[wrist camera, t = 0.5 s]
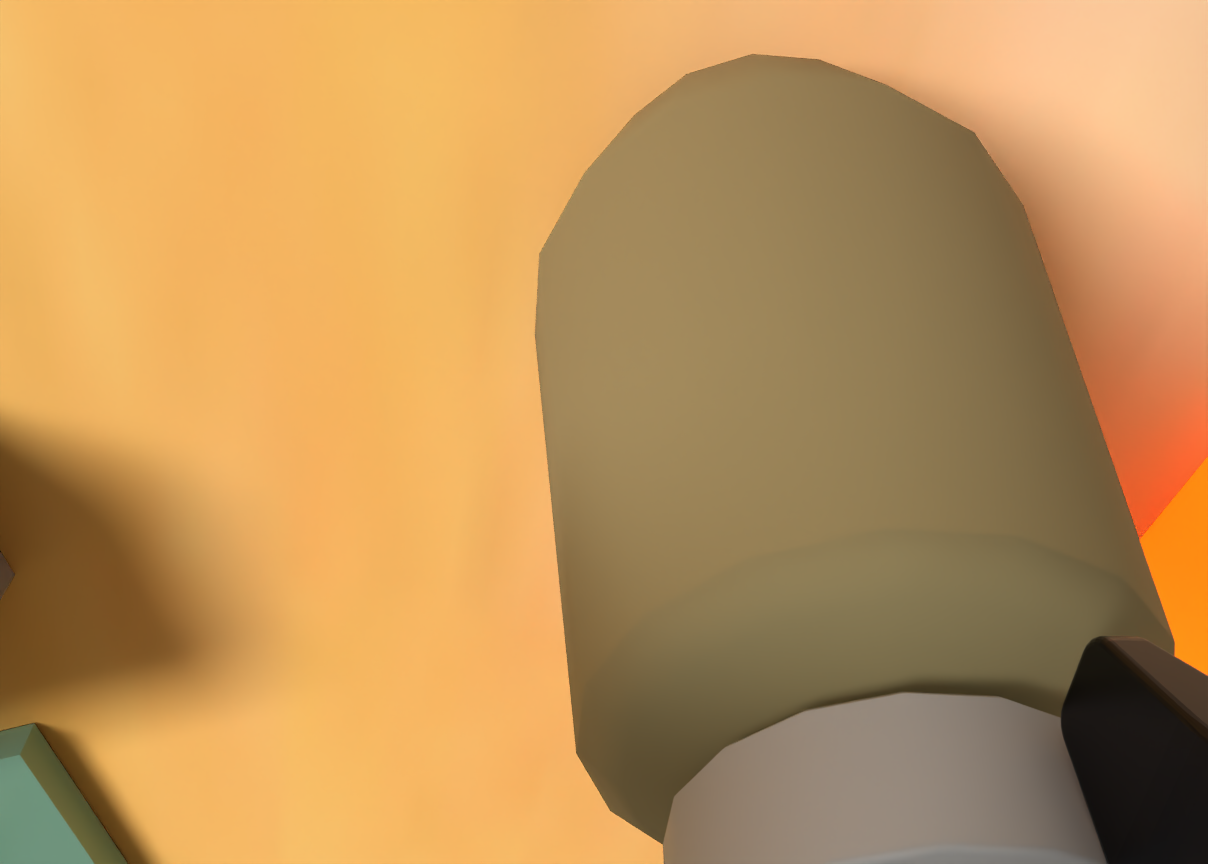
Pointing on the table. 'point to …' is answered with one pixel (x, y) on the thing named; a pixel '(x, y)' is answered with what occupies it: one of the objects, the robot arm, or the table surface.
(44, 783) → the strip
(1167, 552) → the orange juice
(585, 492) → the squeeze bottle
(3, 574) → the block
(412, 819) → the table surface
